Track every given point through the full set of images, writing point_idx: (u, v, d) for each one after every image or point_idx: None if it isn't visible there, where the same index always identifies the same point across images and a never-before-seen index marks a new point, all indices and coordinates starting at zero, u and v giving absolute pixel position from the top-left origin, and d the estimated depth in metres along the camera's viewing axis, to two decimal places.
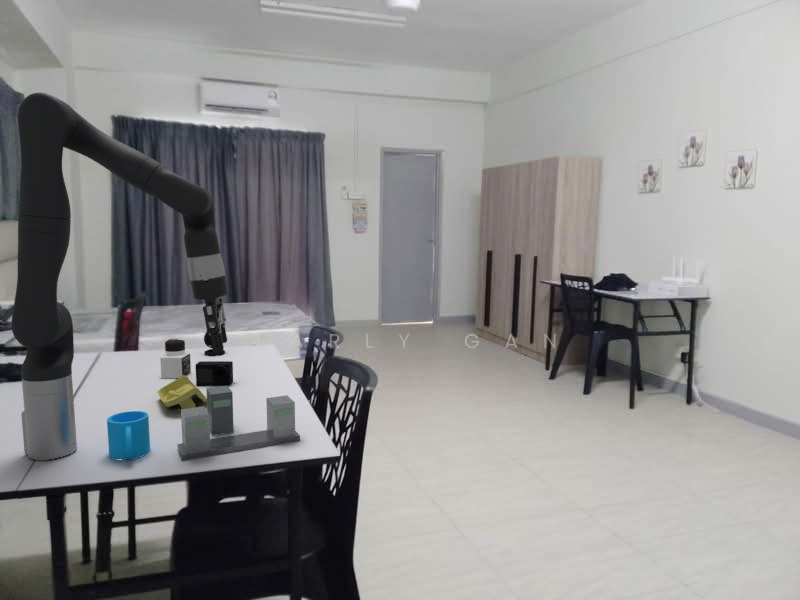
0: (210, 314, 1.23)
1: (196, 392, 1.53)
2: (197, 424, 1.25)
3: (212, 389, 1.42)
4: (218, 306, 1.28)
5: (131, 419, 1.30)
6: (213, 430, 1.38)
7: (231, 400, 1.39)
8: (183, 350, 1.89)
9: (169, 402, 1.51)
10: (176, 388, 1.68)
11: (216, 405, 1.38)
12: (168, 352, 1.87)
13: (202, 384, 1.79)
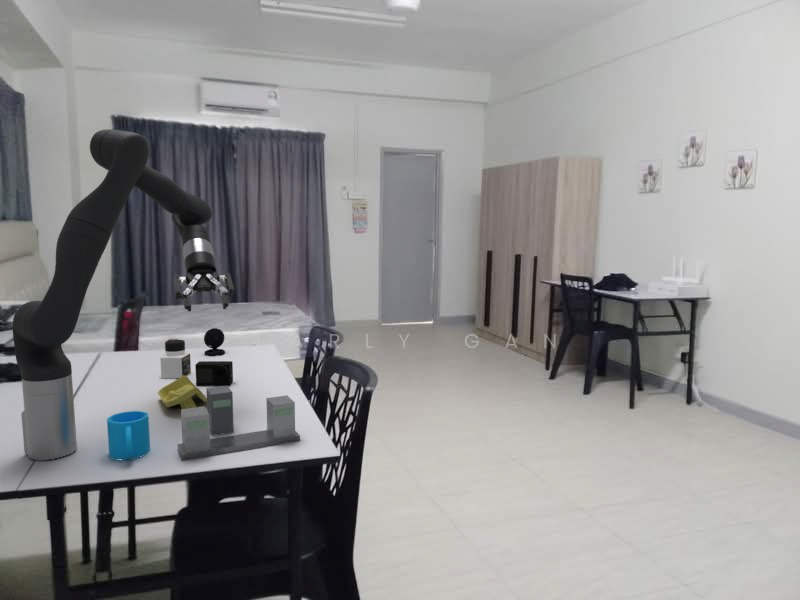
0: None
1: (196, 392, 1.53)
2: (197, 424, 1.25)
3: (212, 389, 1.42)
4: None
5: (131, 419, 1.30)
6: (213, 430, 1.38)
7: (231, 400, 1.39)
8: (183, 350, 1.89)
9: (169, 402, 1.50)
10: (176, 388, 1.68)
11: (216, 405, 1.38)
12: (168, 352, 1.87)
13: (202, 384, 1.79)
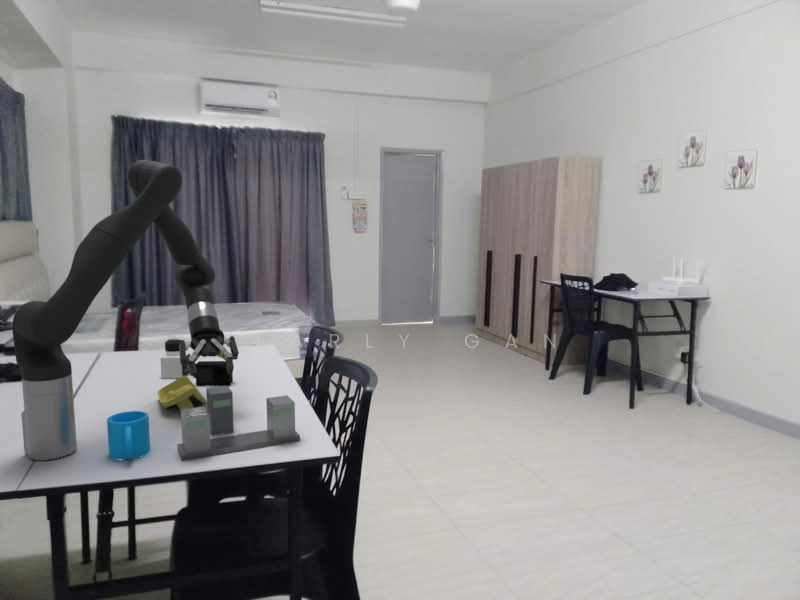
0: None
1: (193, 393, 1.52)
2: (197, 424, 1.25)
3: (212, 389, 1.42)
4: None
5: (131, 419, 1.30)
6: (213, 430, 1.38)
7: (231, 400, 1.39)
8: None
9: (166, 402, 1.50)
10: (176, 388, 1.68)
11: (216, 405, 1.38)
12: (168, 352, 1.87)
13: (202, 384, 1.79)
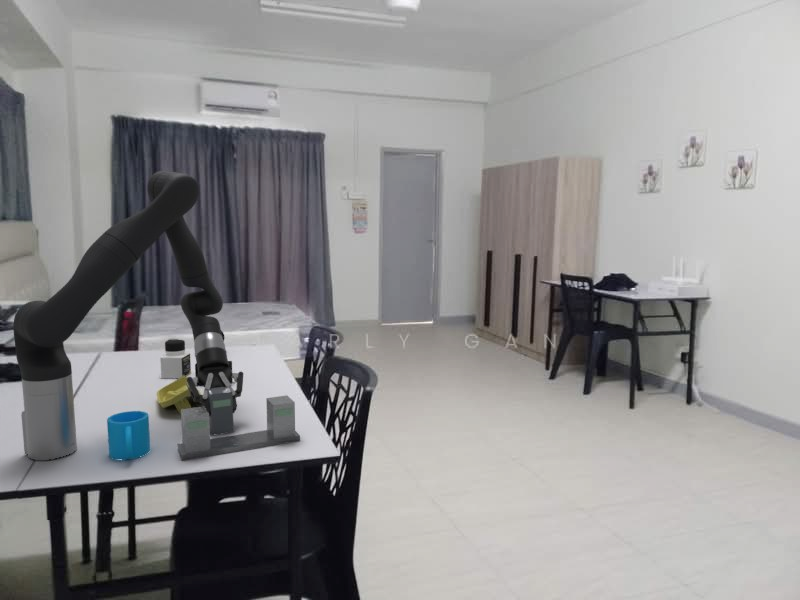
0: None
1: None
2: (197, 424, 1.25)
3: (212, 388, 1.41)
4: None
5: (131, 419, 1.30)
6: (213, 430, 1.38)
7: (231, 400, 1.39)
8: (183, 350, 1.89)
9: (163, 403, 1.50)
10: (176, 388, 1.68)
11: (216, 405, 1.38)
12: (168, 352, 1.87)
13: None
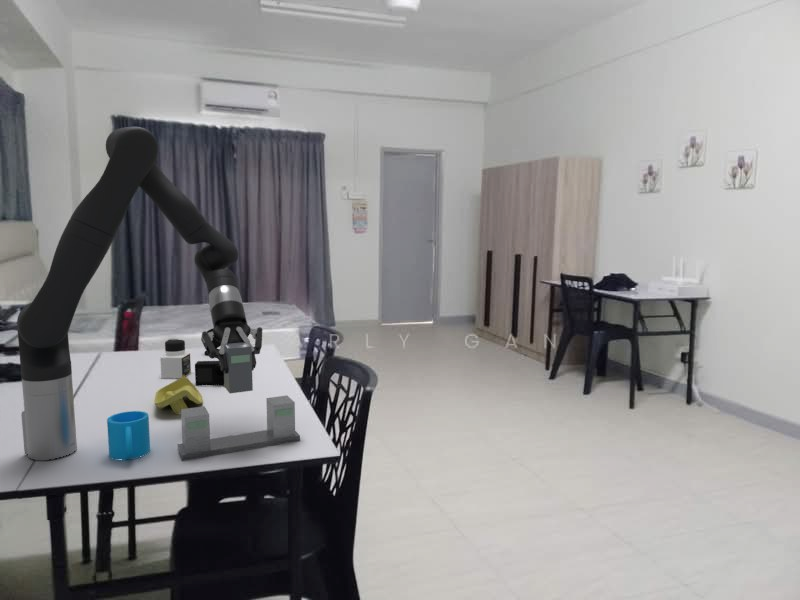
0: None
1: (186, 394, 1.51)
2: (197, 424, 1.25)
3: (229, 344, 1.30)
4: None
5: (131, 419, 1.30)
6: (231, 388, 1.27)
7: (250, 355, 1.28)
8: (183, 350, 1.89)
9: (158, 403, 1.49)
10: (176, 389, 1.67)
11: (234, 360, 1.26)
12: (168, 352, 1.87)
13: (201, 384, 1.80)
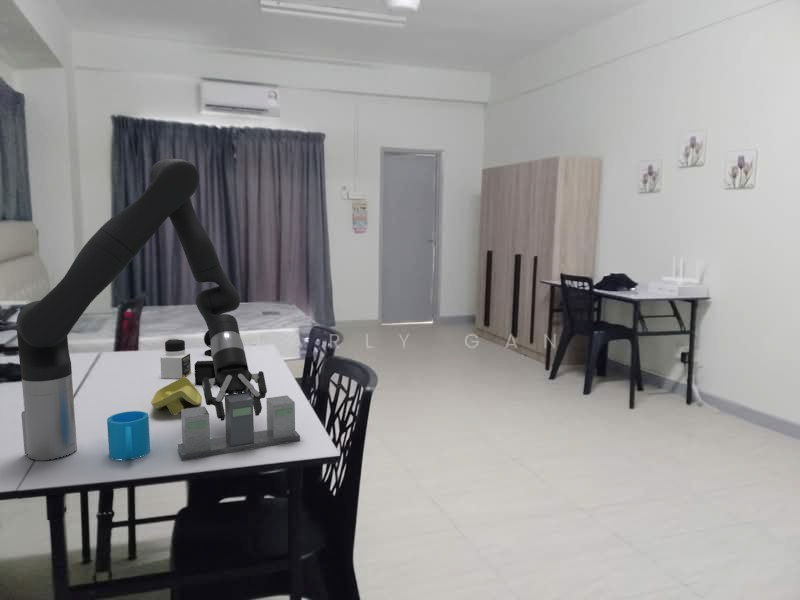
0: None
1: (182, 395, 1.50)
2: (197, 424, 1.25)
3: (231, 396, 1.32)
4: None
5: (131, 419, 1.30)
6: (232, 440, 1.29)
7: (252, 408, 1.30)
8: (183, 350, 1.89)
9: (154, 404, 1.49)
10: (176, 389, 1.67)
11: (236, 413, 1.28)
12: (168, 352, 1.87)
13: (201, 383, 1.80)
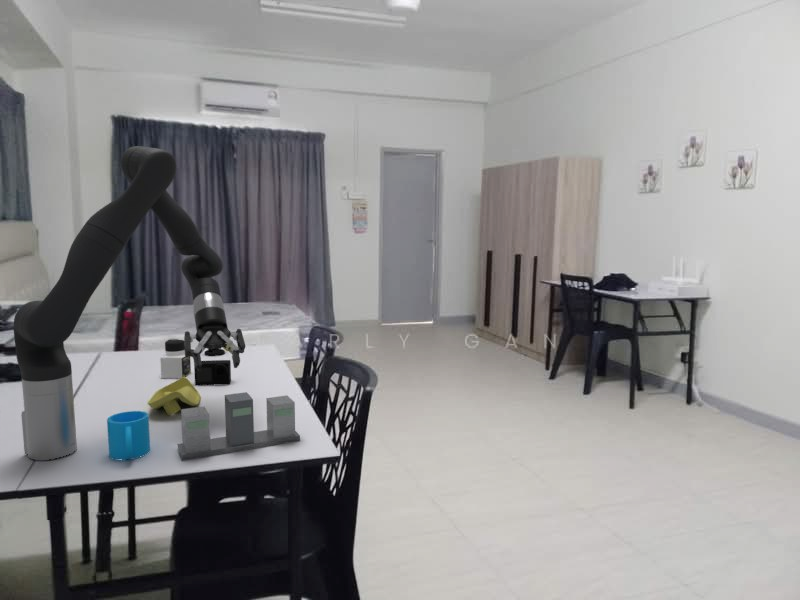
0: None
1: (177, 396, 1.50)
2: (197, 424, 1.25)
3: (231, 396, 1.32)
4: None
5: (131, 419, 1.30)
6: (232, 440, 1.29)
7: (252, 408, 1.30)
8: (183, 350, 1.89)
9: (150, 404, 1.49)
10: (175, 389, 1.67)
11: (236, 413, 1.28)
12: (168, 352, 1.87)
13: (201, 383, 1.80)
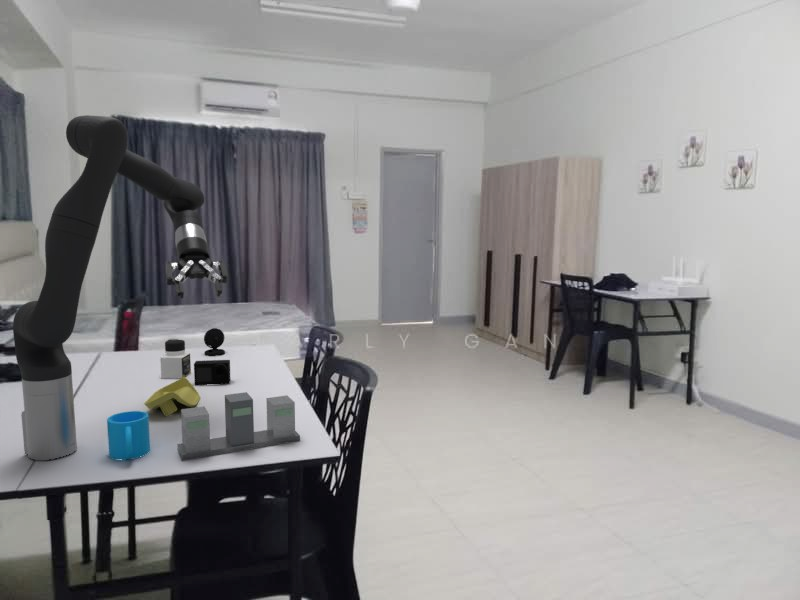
0: None
1: (173, 396, 1.49)
2: (197, 424, 1.25)
3: (231, 396, 1.32)
4: None
5: (131, 419, 1.30)
6: (232, 440, 1.29)
7: (252, 408, 1.30)
8: (183, 350, 1.89)
9: (146, 404, 1.49)
10: (175, 389, 1.67)
11: (236, 413, 1.28)
12: (168, 352, 1.87)
13: (201, 383, 1.80)
